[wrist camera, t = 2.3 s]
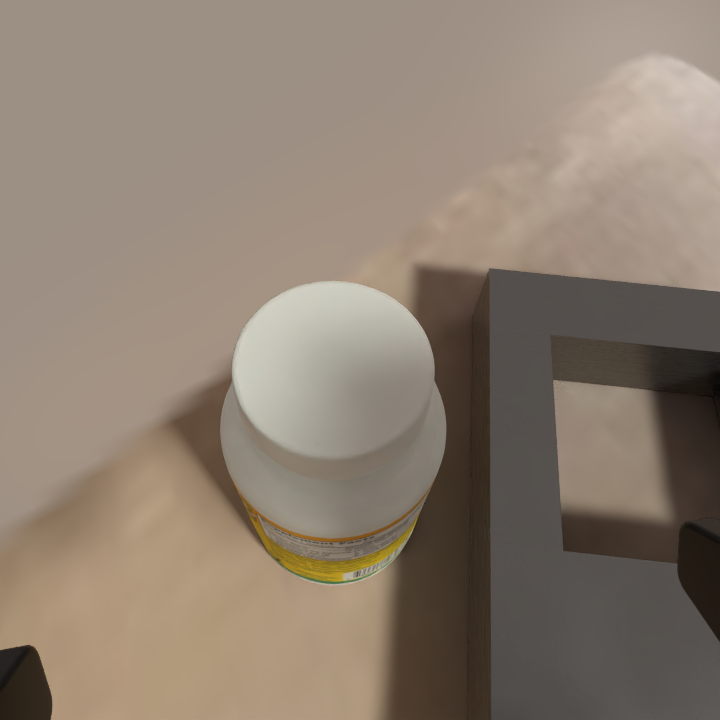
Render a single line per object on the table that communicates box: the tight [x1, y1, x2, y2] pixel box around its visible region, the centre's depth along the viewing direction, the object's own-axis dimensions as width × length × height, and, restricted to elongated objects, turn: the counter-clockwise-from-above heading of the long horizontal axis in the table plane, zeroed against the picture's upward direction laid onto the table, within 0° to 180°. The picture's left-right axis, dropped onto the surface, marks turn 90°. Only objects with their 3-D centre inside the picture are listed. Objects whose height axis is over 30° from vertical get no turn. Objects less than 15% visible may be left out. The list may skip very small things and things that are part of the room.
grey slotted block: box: [468, 268, 720, 720], centre depth 18 cm, size 20×11×3 cm, turn 174°
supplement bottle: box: [220, 281, 446, 586], centre depth 16 cm, size 5×5×10 cm
